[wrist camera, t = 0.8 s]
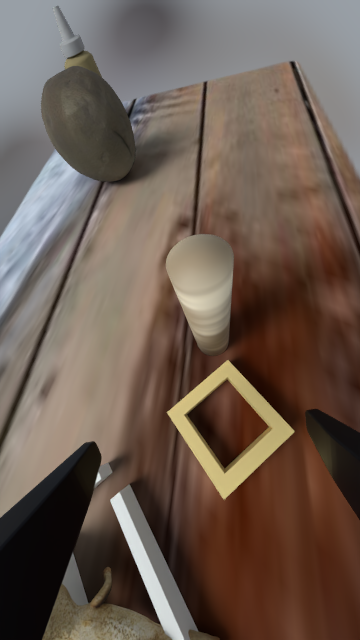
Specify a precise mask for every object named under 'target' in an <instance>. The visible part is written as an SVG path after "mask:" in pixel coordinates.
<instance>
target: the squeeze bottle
mask: <svg viewBox="0 0 360 640" xmlns="http://www.w3.org/2000/svg"><path fill="white" fill-rule="evenodd" d="M53 11H54V14H55V18H56V21H57V24H58V27H59V30H60V34H61V37H62V40H63V42H62V43H60V48H61V50H62V52H63V55H64V57H66V58H67V60H66V62H65V69H67V68H69V67H71V66H81V67H83V68H86V69H88V70H91V71H93V72H95V73H97V74H98V75H99V76H100V77H102V76H101V74H100V72H99V70H98V67H97V65H96V63H95V61H94V59H93V56H92V55H91V54H90V53H89V52H88V51H83V50H84V45H83V42H82V40H81V37H80V36H79V35H74V34H73V32H72V30H71V28H70V26H69V25H68V23H67V21H66V19H65V17H64V16H63V14H62V12H61V10H60V8H59V6H56V7H54V8H53Z"/></svg>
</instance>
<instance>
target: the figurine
mask: <svg viewBox="0 0 360 640" xmlns="http://www.w3.org/2000/svg"><path fill="white" fill-rule="evenodd" d="M103 580H104V582H105V583H104V585H103V587H102V588H101V589H100V591H99V592H98V593H97V595H96V596H95V597H94V598H93V600H92V601H91V602H90V603H89V604H86V605H77V604H76V603H75V602H74V601H73V600H72V598H71V596H70V594H69V592H68V590H67V588H66V587H65V586H64V585H63V584H62V585H61V587H60V590H59V593H58V596H57V599H56V602H55V605H54V607H53V610H52V613H51V616H50V619H49V622H48V625H47V627H46V630H45V633H44V636H43V639H42V640H172V639H171V638H170V637H169V636H167V635H166V634H165V632H164V630H163V627H162V625H160V624H157V623H155V622H153V621H152V620H150V619H149V618H147V617H145V616H143V615H141V614H139V613H137V612H135V611H133V610H130V609H126V608H123V607H119V606H116V605H113V604H108V603H104V601H105V600H106V598H107V597H108V595H109V593H110V590H111V587H112V579H111V568H110V567H106V568H105V569H104V571H103ZM188 634H189V638H190V640H220V638H218V637H216V636H211V635H209V634H207V633H202V632H198V631H195V630H191V629H190V630H189V631H188Z"/></svg>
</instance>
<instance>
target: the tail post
mask: <svg viewBox="0 0 360 640" xmlns="http://www.w3.org/2000/svg"><path fill="white" fill-rule="evenodd" d="M233 261H234V255H233V251H232V248H231V247H230V245H229V244H228V243H227V242H226V241H225V240H224V239H222V238H220V237H218V236H215V235H210V234H199V235H193V236H190V237H188V238H185V239H183V240H182V241H180V242H179V243H177V244H176V245H175V246H174V247H173V248H172V250H171V251H170V253H169V254H168V257H167V260H166V269H167V272H168V275H169V277H170V280H171V282H172V284H173V287H174V289H175V292H176V294H177V296H178V299H179V301H180V304H181V306H182V308H183V311H184V313H185V315H186V318H187V320H188V323H189V325H190V327H191V330H192V332H193V334H194V337H195V339H196V342H197V344H198V346H199V348H200V350H201V351H202V352H203V353H204V354H206V355H209V356H217V355H220V354H222V353H223V352H224V351H225V350H226V349H227V347H228V343H229V327H230V311H231V294H232V277H233Z"/></svg>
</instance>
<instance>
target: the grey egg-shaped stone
mask: <svg viewBox="0 0 360 640" xmlns="http://www.w3.org/2000/svg"><path fill="white" fill-rule="evenodd" d="M41 112H42V118H43V121H44V125H45V128H46V131H47V133H48V136H49V138H50V140H51V142H52V144H53V146H54V147H55V149H56V150H57V152H58V153H59V154H60V155H61V156H62V158H63V159H64V160H65V161H66V162H67V163H68V164H69V165H70V166H71V167H72V168H74V169H75V170H76V171H78V172H79V173H81V174H83V175H85V176H87V177H90V178H92V179H95V180H98V181H104V182H112V181H118V180H120V179H122V178H123V177H125V176H126V175H127V173H128V172H129V171H130V169H131V167H132V165H133V163H134V160H135V152H136V150H135V141H134V135H133V131H132V126H131V123H130V120H129V118H128V115H127V113H126V111H125V108H124V106H123V104H122V102H121V101H120V99H119V98H118V96H117V95H116V93H115V92H114V90H113V89H112V88H111V87H110V85H109V84H108V83H107V82H106V81H105V80H104V79H103V78H102V77H100V76H99V75H98V74H97V73H95V72H93V71H91V70H88V69H86V68H83V67H81V66H71V67H69V68H67V69H66V70H64V71H62V72H60V73H58V74H56V75H55V76H53V77H52V78H50V79H49V80H48V81H47V82H46V83H45V86H44V88H43V93H42V101H41Z"/></svg>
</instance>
